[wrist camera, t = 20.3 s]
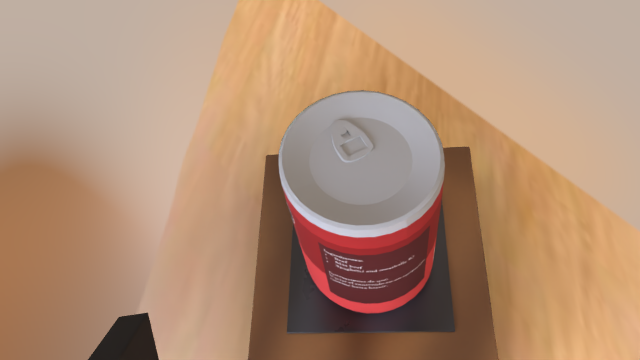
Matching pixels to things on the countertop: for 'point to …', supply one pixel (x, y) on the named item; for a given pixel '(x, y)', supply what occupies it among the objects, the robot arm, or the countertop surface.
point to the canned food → (364, 197)
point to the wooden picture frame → (375, 328)
